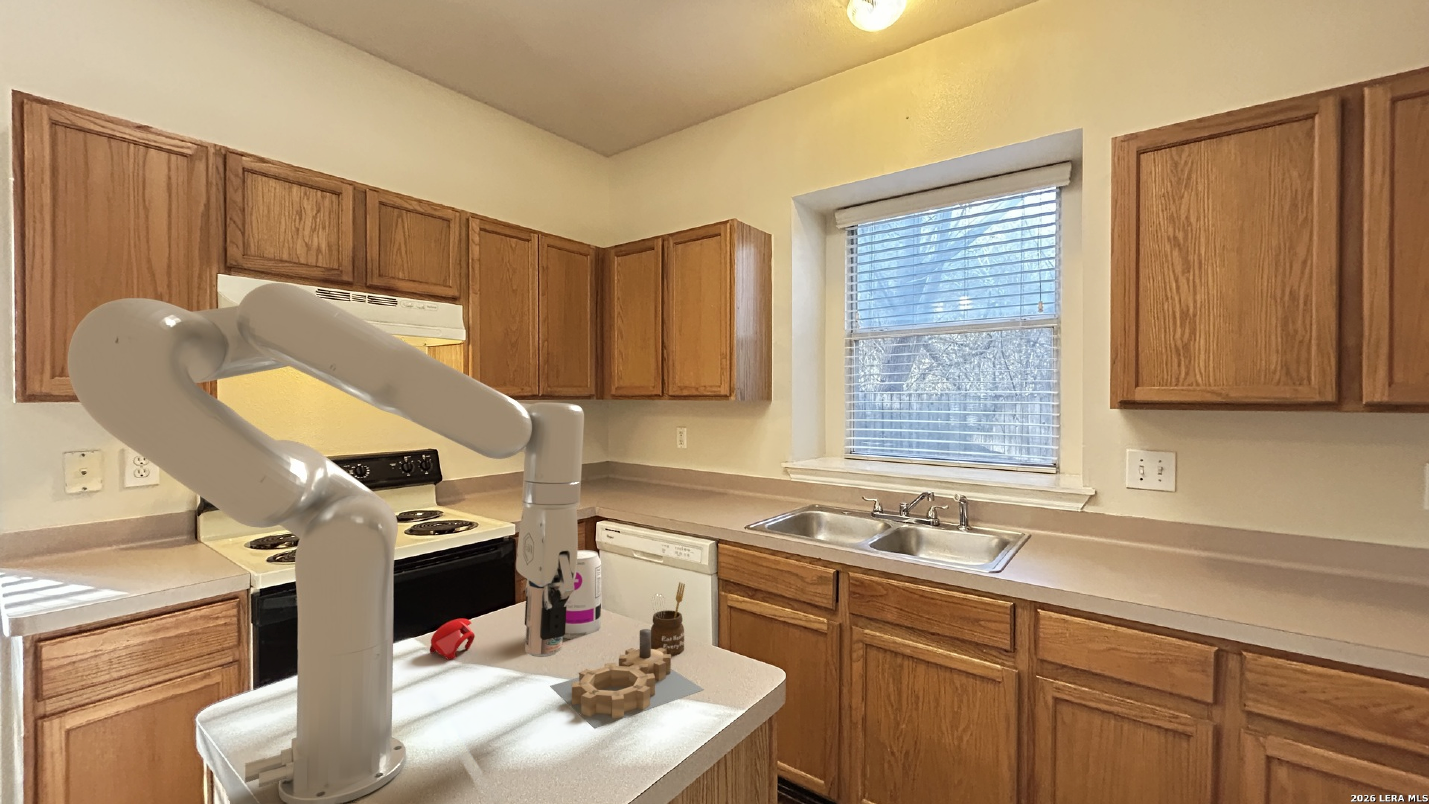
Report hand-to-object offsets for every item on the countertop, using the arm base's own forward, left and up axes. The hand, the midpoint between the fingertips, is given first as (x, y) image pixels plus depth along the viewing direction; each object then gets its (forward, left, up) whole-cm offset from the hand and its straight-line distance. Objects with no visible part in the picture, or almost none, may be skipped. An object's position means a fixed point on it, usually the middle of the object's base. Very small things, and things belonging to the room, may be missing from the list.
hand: (544, 629), depth 79 cm
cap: (-3, +34, -14) cm, 37 cm away
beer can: (0, 0, -3) cm, 3 cm away
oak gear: (+11, +1, -12) cm, 17 cm away
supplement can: (+19, +30, -14) cm, 38 cm away
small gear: (+19, +5, -12) cm, 23 cm away
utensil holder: (+27, +11, -14) cm, 32 cm away
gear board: (+14, +2, -13) cm, 20 cm away
